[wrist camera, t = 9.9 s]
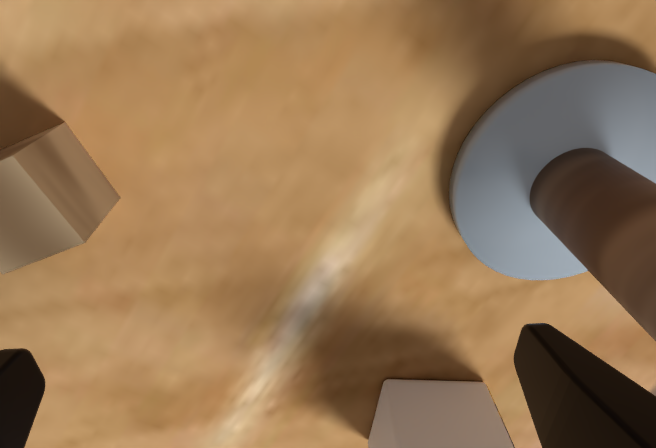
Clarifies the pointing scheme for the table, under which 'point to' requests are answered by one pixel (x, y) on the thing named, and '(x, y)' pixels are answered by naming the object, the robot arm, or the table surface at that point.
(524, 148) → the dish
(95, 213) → the oak block
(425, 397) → the medicine bottle
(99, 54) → the table surface
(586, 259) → the brown cylinder
